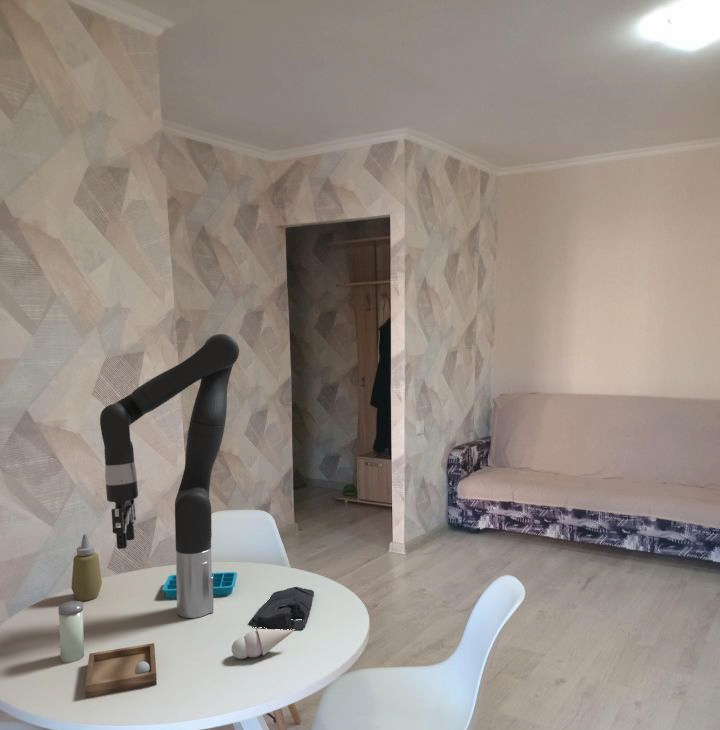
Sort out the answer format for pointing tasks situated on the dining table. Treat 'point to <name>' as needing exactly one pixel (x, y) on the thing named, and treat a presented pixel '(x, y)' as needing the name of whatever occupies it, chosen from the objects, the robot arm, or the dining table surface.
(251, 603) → the dining table surface
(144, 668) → the ball
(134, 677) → the tray
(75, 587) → the squeeze bottle
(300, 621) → the dark slate chunk
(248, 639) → the ice cream cone
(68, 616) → the shaker
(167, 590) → the ice cube tray
